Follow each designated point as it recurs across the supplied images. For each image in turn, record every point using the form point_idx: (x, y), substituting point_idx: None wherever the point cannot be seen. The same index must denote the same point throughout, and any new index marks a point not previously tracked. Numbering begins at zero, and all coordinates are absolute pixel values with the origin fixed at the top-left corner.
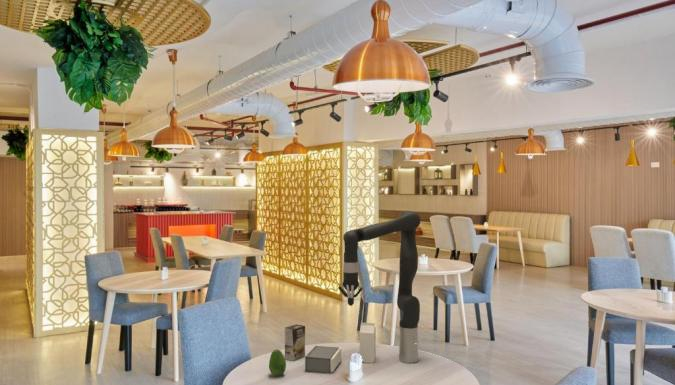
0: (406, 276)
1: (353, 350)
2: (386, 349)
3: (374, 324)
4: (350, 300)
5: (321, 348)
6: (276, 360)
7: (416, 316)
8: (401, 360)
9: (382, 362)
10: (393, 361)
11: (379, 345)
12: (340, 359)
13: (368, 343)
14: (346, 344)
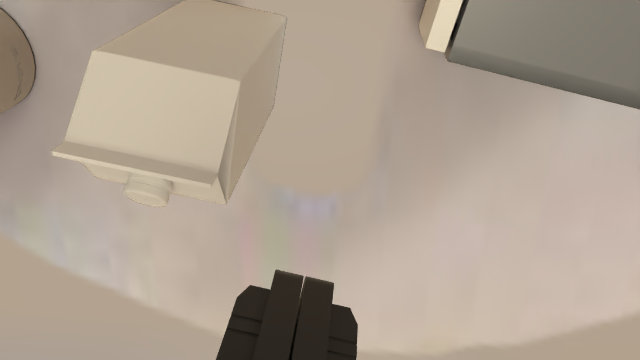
0: None
1: (326, 233)
2: (136, 241)
3: (60, 145)
4: (289, 352)
5: (604, 34)
6: None
7: None
8: (9, 22)
9: (135, 11)
10: (67, 31)
11: (181, 301)
12: (427, 2)
13: (184, 34)
14: (363, 324)
